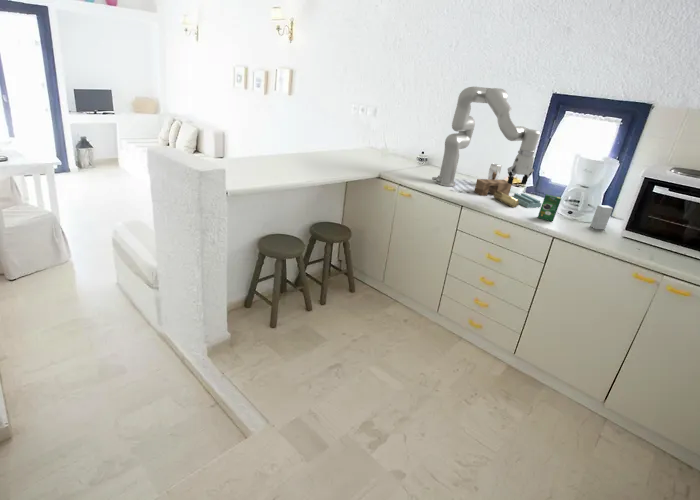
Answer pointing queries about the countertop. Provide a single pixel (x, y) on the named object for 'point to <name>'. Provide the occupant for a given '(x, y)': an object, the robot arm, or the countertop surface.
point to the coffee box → (549, 207)
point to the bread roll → (506, 199)
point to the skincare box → (601, 217)
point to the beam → (491, 186)
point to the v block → (527, 200)
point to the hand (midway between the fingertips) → (516, 183)
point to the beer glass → (494, 171)
